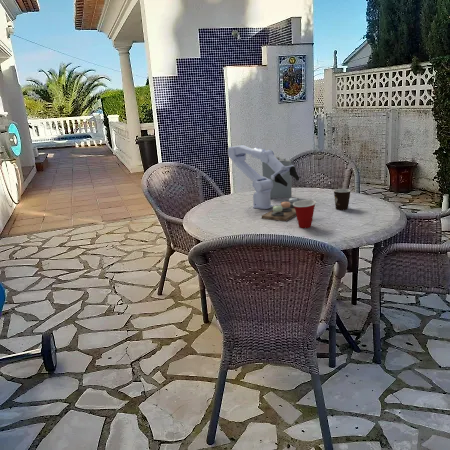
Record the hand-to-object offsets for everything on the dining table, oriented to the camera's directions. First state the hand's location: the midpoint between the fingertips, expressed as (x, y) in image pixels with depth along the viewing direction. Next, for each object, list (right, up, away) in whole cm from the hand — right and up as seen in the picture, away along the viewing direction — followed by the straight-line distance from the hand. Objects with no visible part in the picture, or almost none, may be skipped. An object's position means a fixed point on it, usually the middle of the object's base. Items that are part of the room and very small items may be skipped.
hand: (292, 182), depth 219 cm
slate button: (+2, -10, +13) cm, 16 cm away
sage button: (-8, -15, -1) cm, 17 cm away
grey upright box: (-2, -5, +44) cm, 44 cm away
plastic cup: (+3, -23, -18) cm, 29 cm away
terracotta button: (-3, -12, +6) cm, 14 cm away
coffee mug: (+28, -13, +10) cm, 33 cm away
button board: (-3, -16, +7) cm, 17 cm away
